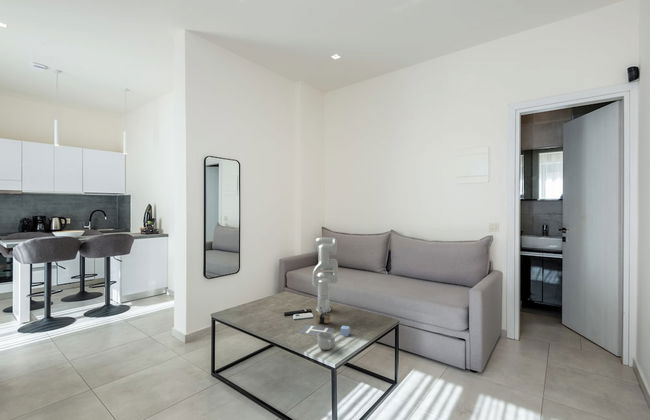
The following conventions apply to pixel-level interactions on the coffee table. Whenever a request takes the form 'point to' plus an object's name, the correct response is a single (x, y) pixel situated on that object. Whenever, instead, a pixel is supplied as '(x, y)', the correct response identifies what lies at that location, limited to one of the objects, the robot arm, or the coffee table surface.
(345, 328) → the blue cube
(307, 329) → the letter card
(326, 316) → the walnut block
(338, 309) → the coffee table surface
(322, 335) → the teacup
